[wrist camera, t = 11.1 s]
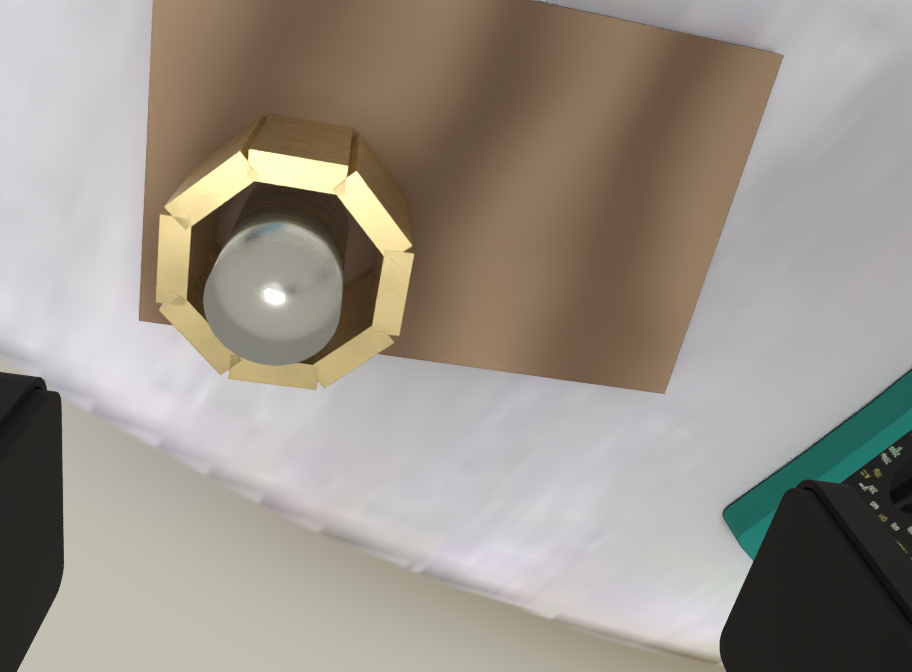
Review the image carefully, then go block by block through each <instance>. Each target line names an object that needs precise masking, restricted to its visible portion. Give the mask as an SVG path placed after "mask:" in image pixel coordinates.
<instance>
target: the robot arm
mask: <svg viewBox="0 0 912 672" xmlns="http://www.w3.org/2000/svg"><path fill="white" fill-rule="evenodd" d="M61 411H62V410H61V397H60V394H59V393H58V392H55V391H47V387H46V384H45V381H44V380H43V379H42V378H41V377H34V376H26V375H19V374H11V373H4V372H0V672H17V670H18V668H19V666H20V664H21V662H22V660H23V659H24V657H25V655H26V653H27V651H28V649H29V647H30V645H31V643H32V641H33V639H34V638H35V636H36V634H37V632H38V630H39V628H40V625H41V624H42V622H43V620H44V618H45V616H46V614H47V613H48V610H49V609H50V607H51V605H52V603H53V601H54V599H55V597H56V594H57V593H58V590H59V587H60V583H61V580H62V575H63V569H64V545H63V544H64V543H63V542H64V539H63V477H62V413H61ZM720 655H721V659H722V662H723V665H724V667H725V669H726V672H912V560H911V559H910V557H909V556H908V555H907V554H906V552H905V551H904V550H903V549H902V548H901V546H900V545H899V544H898V543H897V541H896V540H895V539H894V538H893V536H892V535H891V534H890V533H889V531H888V530H887V529H886V528H885V526H884V525H883V524H882V523H881V522H880V520H879V519H878V518H877V517H876V515H875V514H874V513H873V512H872V510H871V509H870V508H869V507H868V505H867V504H866V503H865V502H864V500H863V499H862V498H861V497H860V496H859V494H858V493H857V492H856V491H855V490H854V489H853V488H852V487H851V486H849V485H846V484H841V483H833V482H825V481H818V480H810V479H807V480H803V481H801V482H800V483H799V484H798V485H797V486H796V488H791V489H788V490H787V491H786V492H785V493H784V495H783V497H782V499H781V501H780V503H779V505H778V508H777V510H776V512H775V514H774V517H773V519H772V521H771V523H770V526H769V528H768V530H767V532H766V534H765V537H764V539H763V541H762V543H761V546H760V548H759V550H758V552H757V555H756V557H755V559H754V561H753V564H752V566H751V568H750V570H749V572H748V575H747V577H746V579H745V581H744V584H743V586H742V588H741V590H740V593H739V595H738V597H737V599H736V601H735V604H734V606H733V608H732V610H731V613H730V615H729V617H728V619H727V622H726V624H725V626H724V628H723V630H722V633H721V637H720Z"/></svg>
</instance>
